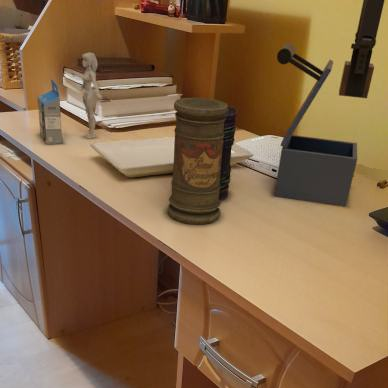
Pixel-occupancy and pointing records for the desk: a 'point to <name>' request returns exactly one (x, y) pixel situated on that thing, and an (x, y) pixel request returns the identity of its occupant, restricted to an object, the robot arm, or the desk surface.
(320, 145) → the grey storage bin
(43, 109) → the label tape box
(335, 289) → the desk surface
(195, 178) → the container
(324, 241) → the desk surface
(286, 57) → the lid
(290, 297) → the desk surface
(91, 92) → the human figurine
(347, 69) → the block
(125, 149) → the tray
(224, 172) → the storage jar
